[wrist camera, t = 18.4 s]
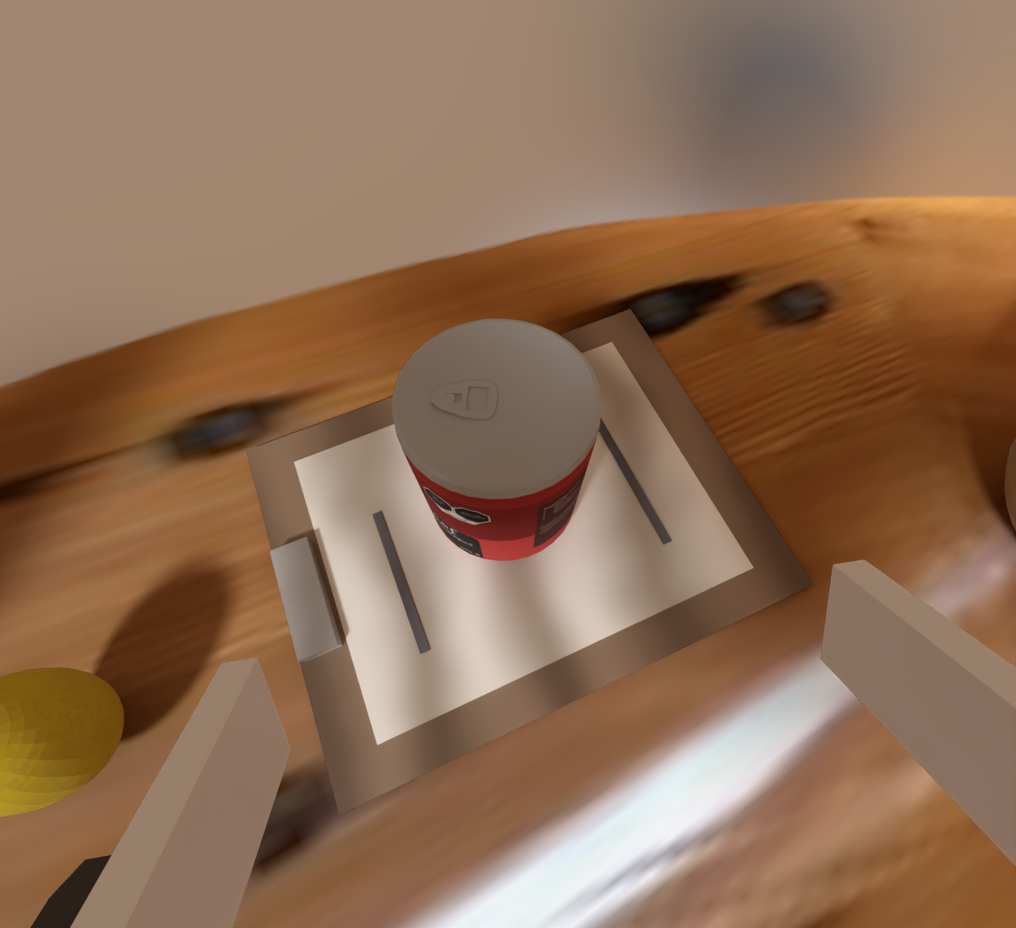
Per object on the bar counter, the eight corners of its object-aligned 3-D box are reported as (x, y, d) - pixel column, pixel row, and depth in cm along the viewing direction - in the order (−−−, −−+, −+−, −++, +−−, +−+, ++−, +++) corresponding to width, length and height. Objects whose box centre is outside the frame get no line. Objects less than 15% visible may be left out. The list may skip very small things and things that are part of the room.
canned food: (422, 453, 31) (377, 336, 21) (554, 425, 31) (572, 299, 21) (445, 580, 28) (405, 515, 18) (590, 547, 28) (631, 466, 18)
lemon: (154, 654, 27) (21, 640, 20) (165, 768, 25) (21, 800, 18) (43, 695, 27) (-137, 696, 19) (45, 816, 24) (-157, 869, 17)
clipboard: (343, 812, 24) (333, 819, 23) (250, 454, 32) (238, 444, 30) (808, 586, 28) (823, 580, 27) (628, 314, 36) (633, 299, 34)
